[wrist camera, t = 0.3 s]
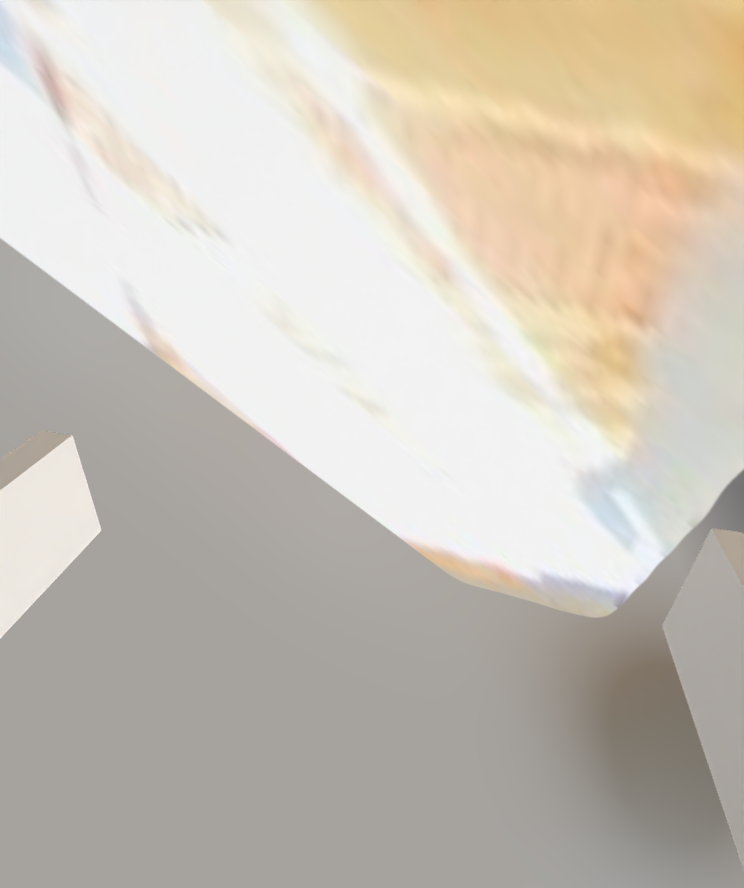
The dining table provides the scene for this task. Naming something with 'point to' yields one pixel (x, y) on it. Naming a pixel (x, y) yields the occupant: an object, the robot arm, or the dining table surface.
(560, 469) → the dining table surface
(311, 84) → the dining table surface
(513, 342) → the dining table surface
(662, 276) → the dining table surface
